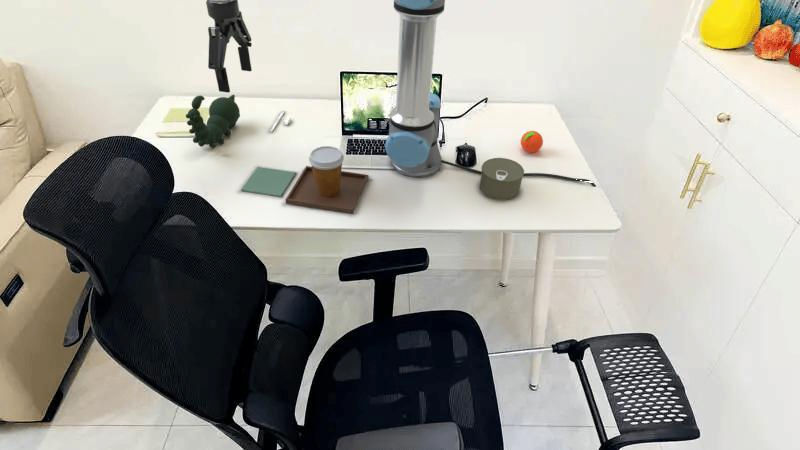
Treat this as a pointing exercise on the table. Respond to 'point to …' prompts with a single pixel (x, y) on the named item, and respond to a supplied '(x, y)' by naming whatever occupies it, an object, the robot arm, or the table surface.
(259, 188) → the mat
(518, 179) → the can
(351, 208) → the tray
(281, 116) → the picture light
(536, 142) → the clementine
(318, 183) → the disposable coffee cup
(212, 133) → the toy figurine
